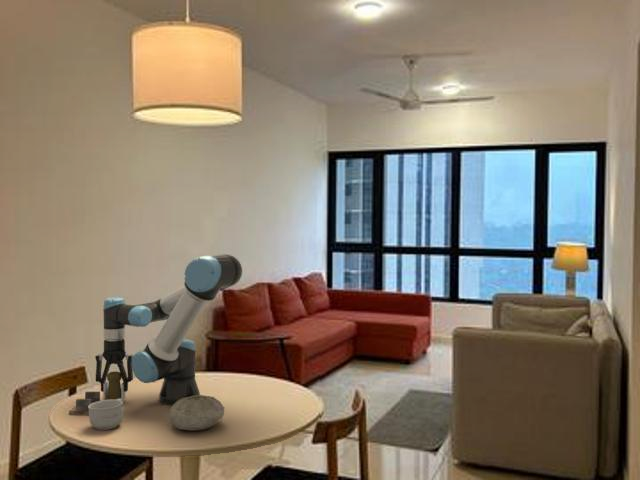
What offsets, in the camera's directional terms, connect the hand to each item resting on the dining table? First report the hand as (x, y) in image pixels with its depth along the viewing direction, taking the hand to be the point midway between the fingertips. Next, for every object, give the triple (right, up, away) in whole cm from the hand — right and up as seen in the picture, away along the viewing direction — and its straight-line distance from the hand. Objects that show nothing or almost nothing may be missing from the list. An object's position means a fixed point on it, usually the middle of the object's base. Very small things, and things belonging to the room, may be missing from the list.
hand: (114, 399), depth 235 cm
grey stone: (+37, -2, -27) cm, 46 cm away
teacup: (+7, -2, -27) cm, 28 cm away
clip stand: (-6, -1, -11) cm, 13 cm away
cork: (0, -1, 0) cm, 1 cm away
